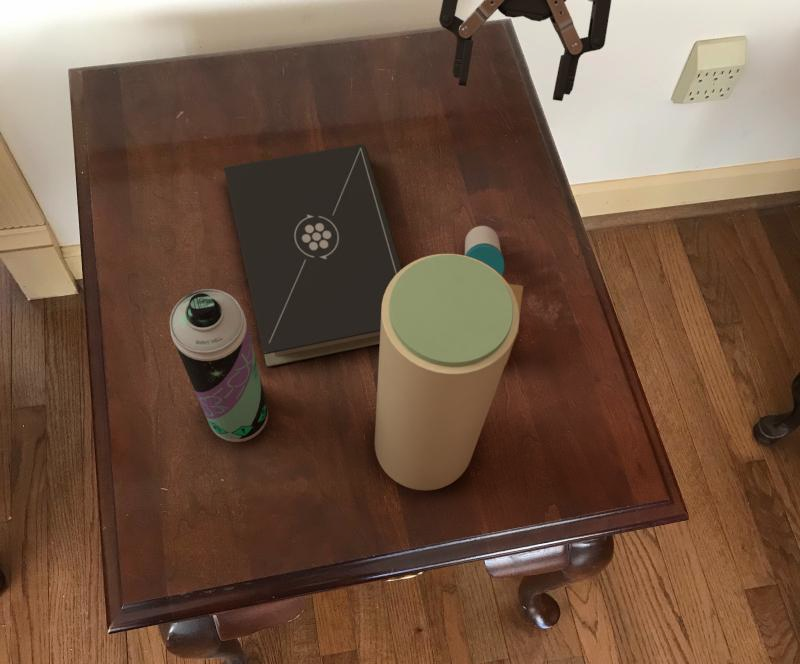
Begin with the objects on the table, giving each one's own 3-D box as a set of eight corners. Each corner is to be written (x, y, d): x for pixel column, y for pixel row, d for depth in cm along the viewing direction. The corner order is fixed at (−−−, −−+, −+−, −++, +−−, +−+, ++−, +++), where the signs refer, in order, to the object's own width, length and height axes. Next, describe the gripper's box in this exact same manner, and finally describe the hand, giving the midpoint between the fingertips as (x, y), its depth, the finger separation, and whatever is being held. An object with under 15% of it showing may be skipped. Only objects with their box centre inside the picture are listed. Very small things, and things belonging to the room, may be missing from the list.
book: (418, 337, 81) (420, 321, 78) (266, 368, 78) (263, 353, 76) (366, 162, 89) (366, 142, 86) (227, 185, 87) (223, 166, 84)
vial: (464, 237, 85) (478, 167, 76) (499, 242, 85) (517, 173, 75) (450, 329, 81) (463, 267, 71) (487, 334, 81) (505, 273, 71)
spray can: (195, 416, 76) (144, 305, 58) (238, 376, 78) (201, 256, 60) (238, 454, 75) (199, 352, 57) (280, 412, 77) (256, 300, 58)
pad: (447, 238, 56) (447, 233, 56) (536, 312, 54) (538, 307, 54) (363, 310, 54) (363, 306, 53) (454, 390, 52) (455, 386, 51)
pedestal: (421, 380, 79) (446, 230, 57) (493, 443, 76) (547, 312, 55) (354, 443, 76) (352, 310, 54) (425, 510, 74) (454, 401, 52)
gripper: (460, -141, 65) (429, 81, 71) (643, -114, 64) (596, 106, 70) (460, -119, 72) (432, 81, 78) (625, -95, 71) (583, 104, 77)
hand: (510, 93), depth 74 cm, fingers open, 8 cm apart
